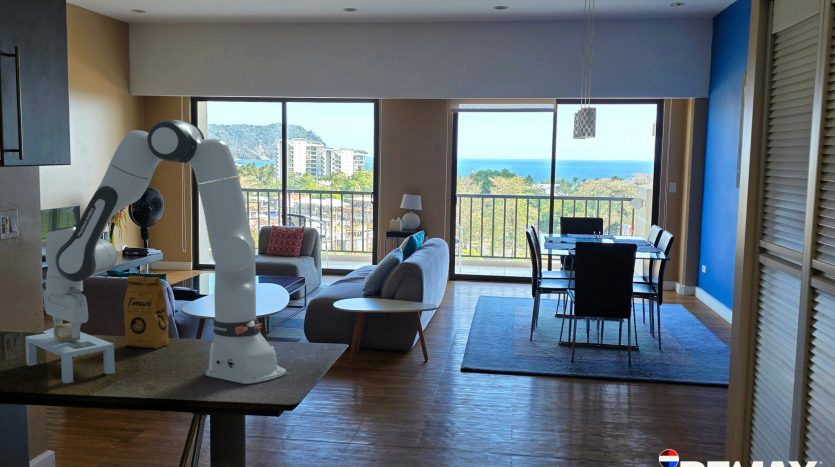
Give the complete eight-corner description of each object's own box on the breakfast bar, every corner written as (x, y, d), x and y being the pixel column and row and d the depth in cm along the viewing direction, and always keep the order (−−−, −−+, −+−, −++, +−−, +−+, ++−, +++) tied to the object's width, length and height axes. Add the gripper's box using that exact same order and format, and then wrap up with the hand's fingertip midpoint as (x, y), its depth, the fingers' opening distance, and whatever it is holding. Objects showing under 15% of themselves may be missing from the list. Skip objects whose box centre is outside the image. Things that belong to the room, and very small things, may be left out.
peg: (80, 355, 195) (79, 325, 194) (62, 358, 191) (61, 328, 190) (73, 351, 198) (72, 322, 197) (54, 355, 194) (53, 325, 193)
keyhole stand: (114, 372, 190) (113, 344, 190) (65, 383, 181) (64, 353, 180) (73, 355, 207) (72, 329, 207) (26, 364, 198) (25, 336, 197)
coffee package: (154, 351, 213) (152, 279, 211) (120, 348, 216) (117, 277, 214) (174, 343, 222) (172, 275, 220) (141, 340, 226) (139, 273, 224)
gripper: (93, 288, 188) (95, 338, 189) (61, 280, 201) (63, 327, 203) (69, 291, 183) (71, 343, 185) (38, 282, 197) (40, 331, 198)
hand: (67, 334), depth 194 cm, fingers open, 8 cm apart
